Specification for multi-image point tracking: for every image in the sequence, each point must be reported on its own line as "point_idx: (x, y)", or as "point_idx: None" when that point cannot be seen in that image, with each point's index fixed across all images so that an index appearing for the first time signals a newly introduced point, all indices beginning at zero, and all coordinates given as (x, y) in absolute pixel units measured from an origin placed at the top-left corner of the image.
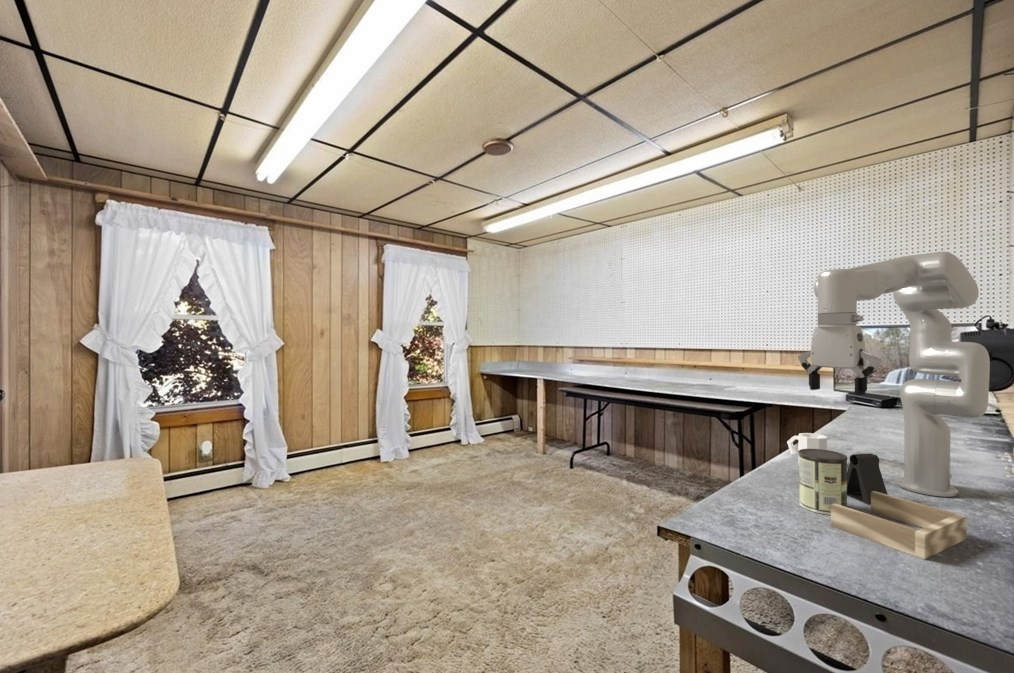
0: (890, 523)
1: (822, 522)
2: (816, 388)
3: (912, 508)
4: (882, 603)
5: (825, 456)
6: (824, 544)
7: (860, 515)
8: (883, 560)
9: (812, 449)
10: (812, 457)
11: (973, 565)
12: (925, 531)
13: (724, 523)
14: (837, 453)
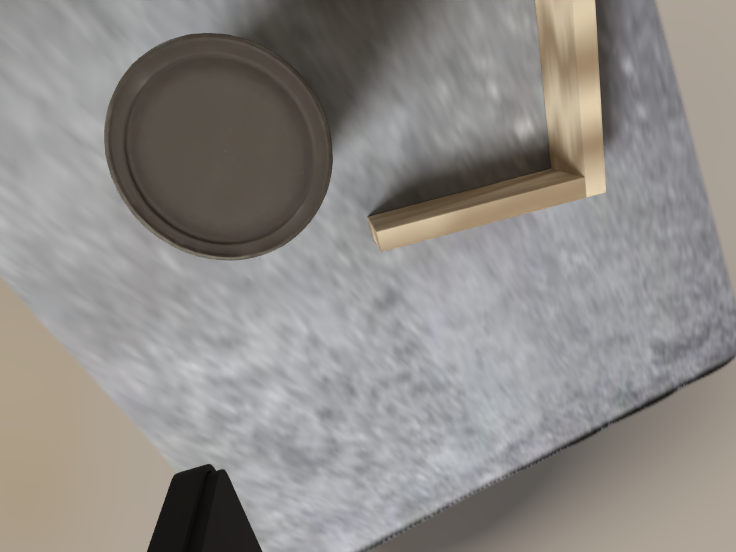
0: (532, 209)
1: (348, 238)
2: (254, 543)
3: None
4: (622, 408)
5: (263, 177)
6: (447, 336)
7: (460, 229)
8: (539, 276)
9: (122, 122)
10: (264, 252)
11: (626, 95)
12: (597, 168)
13: (298, 474)
14: (225, 56)
